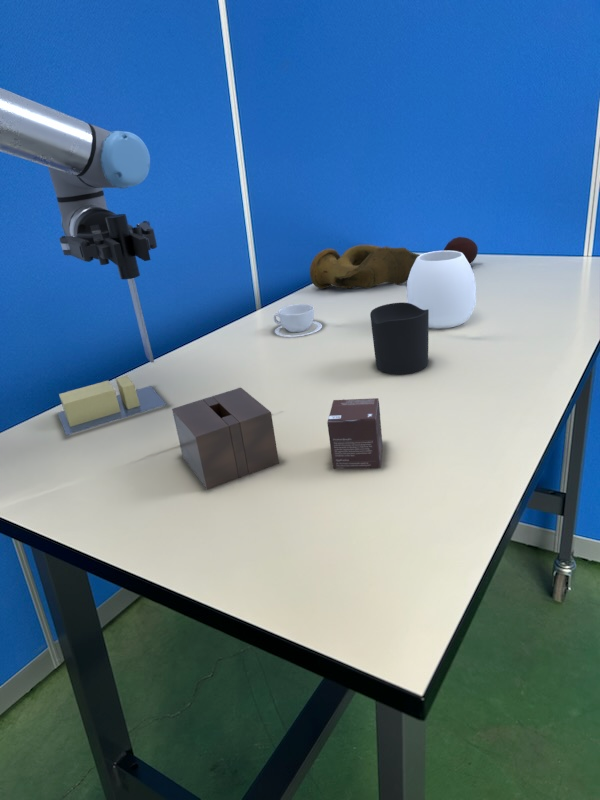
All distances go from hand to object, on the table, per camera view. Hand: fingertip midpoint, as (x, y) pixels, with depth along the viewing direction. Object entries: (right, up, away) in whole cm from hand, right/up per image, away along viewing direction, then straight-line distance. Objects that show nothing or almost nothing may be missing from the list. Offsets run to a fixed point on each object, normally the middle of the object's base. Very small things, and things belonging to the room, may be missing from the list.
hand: (132, 252), depth 77 cm
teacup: (+21, -4, +53) cm, 57 cm away
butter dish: (-10, -21, +26) cm, 34 cm away
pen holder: (+38, -13, +29) cm, 49 cm away
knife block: (+12, -27, +6) cm, 30 cm away
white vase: (+49, -3, +46) cm, 68 cm away
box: (+28, -26, +3) cm, 39 cm away
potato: (+62, +16, +84) cm, 105 cm away
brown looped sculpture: (+38, +9, +77) cm, 86 cm away
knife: (0, -13, +11) cm, 17 cm away
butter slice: (-7, -19, +26) cm, 33 cm away
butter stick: (-13, -21, +24) cm, 34 cm away
